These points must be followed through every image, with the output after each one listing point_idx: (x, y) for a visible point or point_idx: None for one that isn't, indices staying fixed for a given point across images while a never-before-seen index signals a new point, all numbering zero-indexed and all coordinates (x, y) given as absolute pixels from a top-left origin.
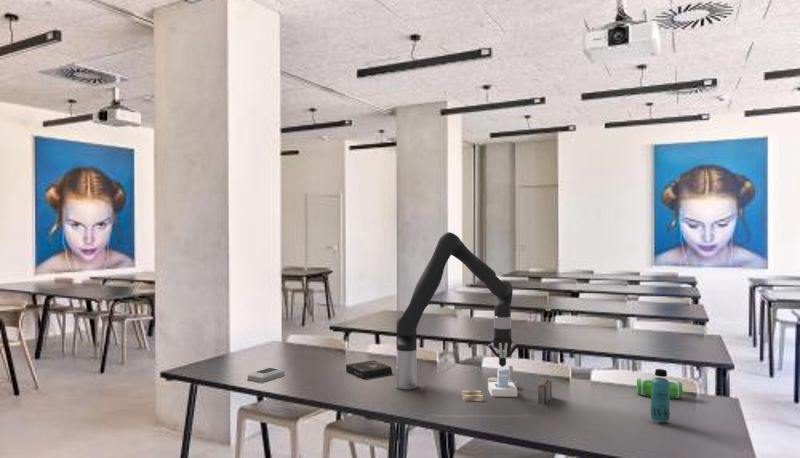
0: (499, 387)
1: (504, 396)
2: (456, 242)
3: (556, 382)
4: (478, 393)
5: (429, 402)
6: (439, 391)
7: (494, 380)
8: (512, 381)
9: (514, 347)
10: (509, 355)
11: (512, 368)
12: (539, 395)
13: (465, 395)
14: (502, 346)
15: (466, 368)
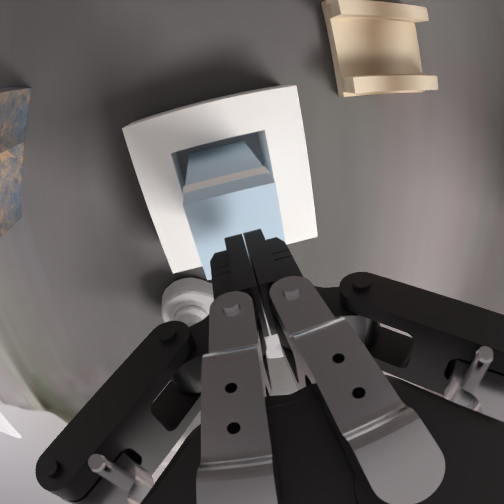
0: (244, 149)
1: (206, 100)
2: None
3: (55, 382)
4: (360, 76)
5: (498, 34)
6: (479, 165)
7: None
8: (182, 309)
9: (72, 459)
10: (159, 333)
11: None
12: (4, 91)
13: (419, 10)
14: (318, 449)
15: None
